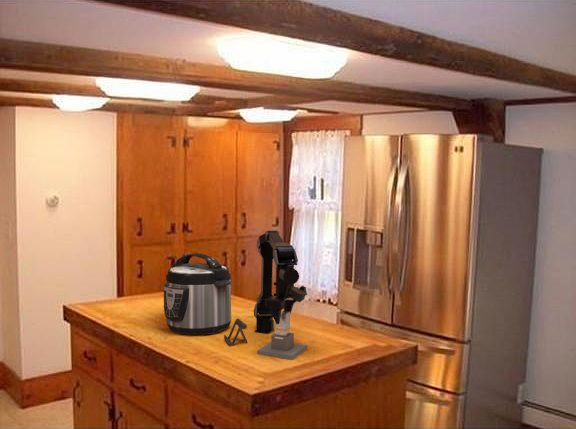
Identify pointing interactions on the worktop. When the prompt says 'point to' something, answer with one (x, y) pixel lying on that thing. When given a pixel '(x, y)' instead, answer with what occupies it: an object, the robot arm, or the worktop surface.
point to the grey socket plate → (282, 347)
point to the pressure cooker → (197, 296)
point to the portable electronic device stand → (241, 326)
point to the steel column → (283, 324)
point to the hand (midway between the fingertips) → (282, 321)
